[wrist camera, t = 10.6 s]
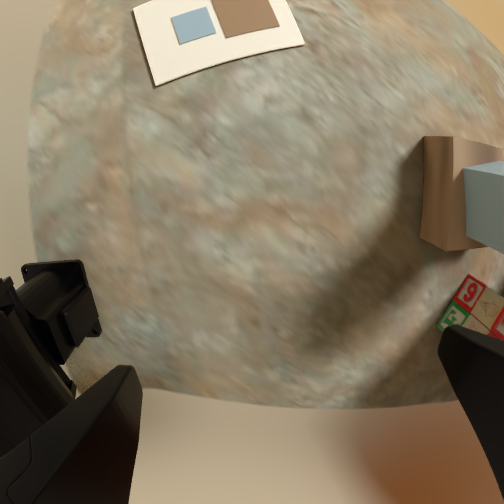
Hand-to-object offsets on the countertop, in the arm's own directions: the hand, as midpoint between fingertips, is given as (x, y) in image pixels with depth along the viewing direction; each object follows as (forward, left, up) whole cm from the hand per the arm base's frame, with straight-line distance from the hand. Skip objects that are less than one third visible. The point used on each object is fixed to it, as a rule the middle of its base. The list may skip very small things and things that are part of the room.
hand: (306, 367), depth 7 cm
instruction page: (-2, +15, -13) cm, 20 cm away
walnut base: (+17, +3, -13) cm, 22 cm away
